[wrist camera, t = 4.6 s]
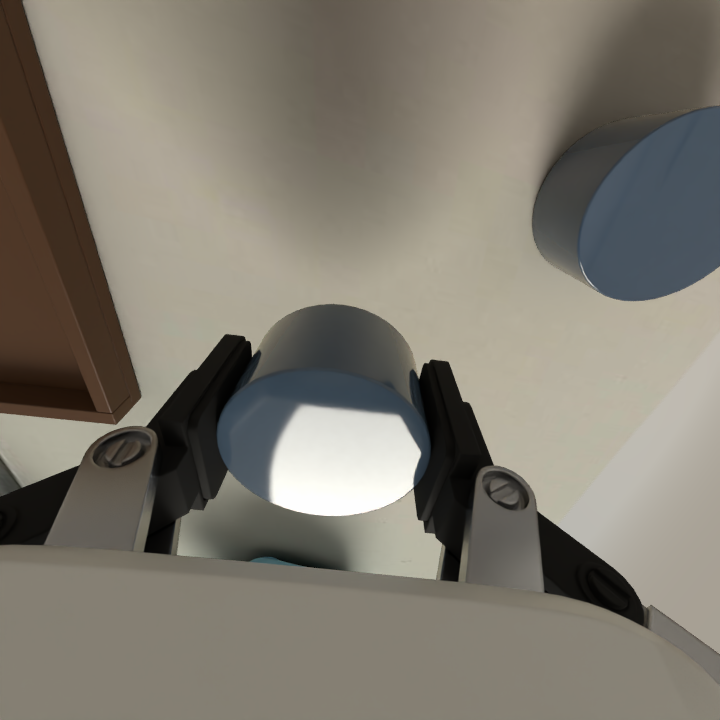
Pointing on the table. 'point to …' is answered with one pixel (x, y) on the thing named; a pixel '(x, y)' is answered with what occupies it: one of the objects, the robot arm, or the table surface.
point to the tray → (49, 261)
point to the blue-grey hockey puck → (636, 205)
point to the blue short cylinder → (328, 415)
